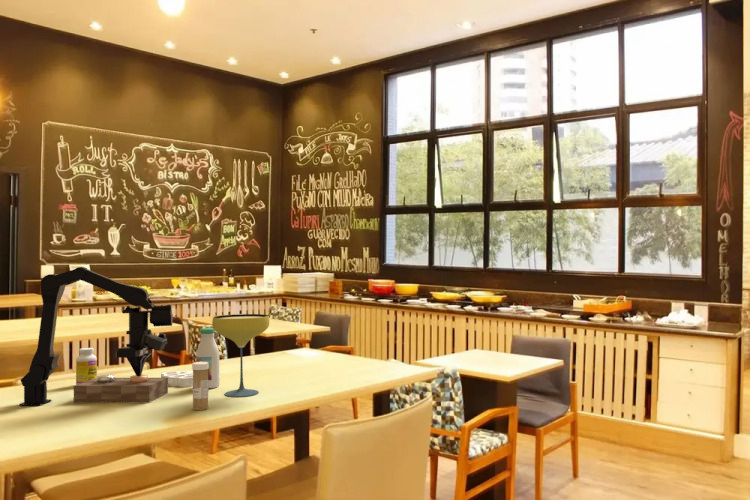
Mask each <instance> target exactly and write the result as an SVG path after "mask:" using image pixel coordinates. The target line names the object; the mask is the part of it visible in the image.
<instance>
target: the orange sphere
mask: <svg viewBox="0 0 750 500" xmlns="http://www.w3.org/2000/svg"><path fill="white" fill-rule="evenodd" d="M129 378H130V383H144V382H147V381H148V378H149V376H148V374H141V376H136V374H135V375H131V376H130V377H129Z"/></svg>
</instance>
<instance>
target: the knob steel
mask: <svg viewBox="0 0 750 500" xmlns="http://www.w3.org/2000/svg"><path fill="white" fill-rule="evenodd" d="M114 378H115V374H100V375H97V382H96V383H111V382H113V381H115V380H114Z"/></svg>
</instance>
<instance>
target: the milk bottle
mask: <svg viewBox="0 0 750 500" xmlns="http://www.w3.org/2000/svg"><path fill="white" fill-rule="evenodd" d="M215 333H216V331H215V330H214V329H213V327H208V328H207V327H204V328H200V336H201V337H200V341H199V344H198V347H197V350H196V358H195V359H196V361H195V362H208V364H209V368H208V389H214V388H218V387H219V386H221V384H220V381H221V380H220V379H221V378H220V375H221V373H220V351H219V347H218V345H217V343H216V340H215Z"/></svg>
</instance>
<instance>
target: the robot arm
mask: <svg viewBox="0 0 750 500" xmlns="http://www.w3.org/2000/svg"><path fill="white" fill-rule="evenodd" d="M79 281H82V282H85V283H87V284H89V285H92V286H94V287H98V288H100V289H101V290H105V291H107V292H109V293H112V294H115V295H116V296H118V297H119V298H120V299H122V300H124V302H126V303H127V304H130V305H131V306H133V307H131V306H130V305H127V306H126V307H125V308H124V309H123V310H122V311H121V313H122V314H128V330H126V333H125V335H128V343H126V346H121V347H119V348H118V349H117V350H115V358H122V359H123V358H125V359H127V361H128V363H129V364H130V366H131V368H132V370H133V372H134V373H135V375H136V376H141V375H143V371H144V370H143V369H144V367H145V363H146V360H147V358H148V357H150V356H151V355H152V354H153V352H149V350H154V351H156V352H157V351H159V352H160V351H161V350H164V349H165V346H166V345H167V344H168V343H169V342H168V337H167V334H165V333H163V332H162V333H159V334H158V335H157V334H156V335H155V334H152V330H151V328H149V324H151V325H152V326H153V327H173V321H174V317H173V316H174V315H173V310H172V308H173V307H172V304H165V305H155V304H154V302H153V301H152V300H151V299H150V294H149V292H148V290H147V289H146V288H144V287H140V286H135V285H131V284H126V283H122V282H119V281H117V280H115V279H112V278H110V277H107V276H105V275H103V274H100V273H97V272H95V271H93V270H90V269H88V267H85V266H77V267H75V269H70V270H68V271H64V272H61V273H55V274H54V273H52V274H46V275H44V276H43V277H41V280H40V282H39V283H40V296H41V300H42V309H41V310H42V311H41V316H40V317H41V318H40V325H39V332H38V333H39V334H38V341H37V348H36V351H35V353H34V355H33V357H32V360H31V362H30V366H29V368H28V369H29V370H28V372H27V373H26V374H25V375H24V376H23V377H22V378H21V379H20V383H21V385H22V387H23V402H21V403H19V404H18V405H19V406H29V407H31V406H32V407H33V406H42V405H44V404H47V403H49V402H52V399H51V398H50V399H48V384H47V381H48V380H49V377H50V376H51V375H52V374H54V372H55V370H56V369H57V368H58V367H59V364H58V361H59V358H60V357H59V356H60V354H59V353H58V354H57V353H56V354H55V352H54V344H55V343H54V342H55V335H56V327H57V319H58V311H59V305H60V301H61V299H62V297H63V295H64V292H65V289H66V287H68V286H69V285H72V284H75V283H77V282H79ZM142 309H144V310H142Z"/></svg>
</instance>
